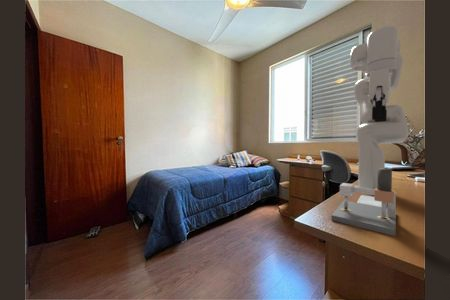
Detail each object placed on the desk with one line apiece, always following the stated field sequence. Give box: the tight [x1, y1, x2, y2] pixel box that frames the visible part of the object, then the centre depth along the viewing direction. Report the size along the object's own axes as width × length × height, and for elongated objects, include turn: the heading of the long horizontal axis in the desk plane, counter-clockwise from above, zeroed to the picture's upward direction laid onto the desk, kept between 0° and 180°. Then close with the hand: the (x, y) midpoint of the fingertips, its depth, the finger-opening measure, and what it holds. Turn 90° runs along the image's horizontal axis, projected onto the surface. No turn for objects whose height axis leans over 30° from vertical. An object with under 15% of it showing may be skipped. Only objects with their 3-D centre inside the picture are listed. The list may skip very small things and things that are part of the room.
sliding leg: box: [373, 167, 395, 217], centre depth 51 cm, size 3×4×14 cm
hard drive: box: [356, 194, 388, 208], centre depth 68 cm, size 2×8×12 cm
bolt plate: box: [330, 200, 397, 237], centre depth 56 cm, size 18×14×2 cm
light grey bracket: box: [339, 182, 397, 219], centre depth 55 cm, size 5×13×8 cm, turn 47°
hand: (379, 120), depth 61 cm, fingers open, 9 cm apart
